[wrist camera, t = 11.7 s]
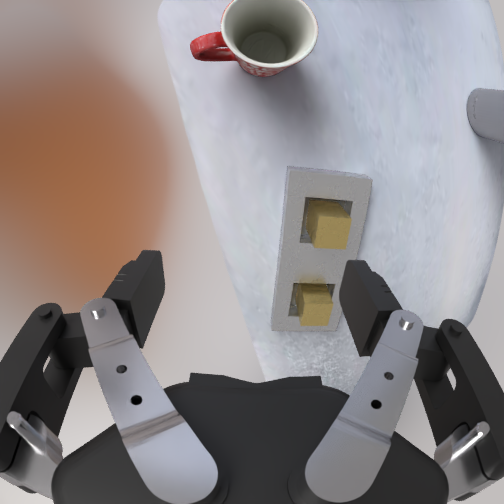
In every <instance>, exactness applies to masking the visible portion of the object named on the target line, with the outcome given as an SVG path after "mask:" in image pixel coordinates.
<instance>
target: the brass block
mask: <svg viewBox="0 0 504 504" xmlns="http://www.w3.org/2000/svg"><path fill="white" fill-rule="evenodd" d="M295 301H296V306H297V311H298V316H299V321H300V326H328V322H329V319H330V315H331V312H332V308H333V301H332V299H331V296H330V293H329V290H328V288H327V285H326V284H319V283H298V286H297V292H296V298H295Z"/></svg>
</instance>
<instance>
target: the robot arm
mask: <svg viewBox="0 0 504 504" xmlns="http://www.w3.org/2000/svg"><path fill="white" fill-rule="evenodd" d="M467 113H468V118H469V122H470V124H471V126H472V128H473V130H474V131H475V132H476V133H477V134H478V135H479V136H481V137H484V138H488V139H491V140H494V141H497V142H501V143H504V91H503V90H494V89H482V88H479V89H475V90H473V91H472V92H471V94H470V96H469V98H468V103H467ZM164 290H165V279H164V271H163V264H162V255H161V252H160V251H155V250H143V251H142V252H141V254H140V255H139V256H138V258H137V259H136V261H130V262H129V263H127V264H126V265H124V266H123V267H122V268H121V270H120V271H119V273H118V275H117V276H116V277H115V279H114V281H113V282H112V283H111V285H110V286H109V288H108V289H107V291H106V292H105V294H104V295H103V297H102V298H97V299H93V300H91V301H89V302H87V303H86V304H85V305H84V306H83V307H82V309H81V312H79V313H71V314H63V312H62V309H61V307H60V306H59V305H58V304H56V303H46V304H43V305H41V306H39V307H38V308H36V309H35V310H34V311H33V312H32V314H31V315H30V317H29V318H28V320H27V321H26V323H25V324H24V326H23V327H22V329H21V330H20V332H19V333H18V334H17V336H16V338H15V339H14V341H13V342H12V344H11V345H10V347H9V349H8V350H7V352H6V354H5V355H4V357H3V359H2V360H1V362H0V477H1V478H3V479H4V480H6V481H8V482H9V483H11V484H13V485H16V486H17V487H19V488H21V489H23V490H24V491H26V492H28V493H39V494H41V495H43V496H45V497H48V498H50V499H52V500H53V501H54V504H447V502H449V501H451V500H458V501H462V500H465V499H467V498H469V497H471V496H473V495H475V494H476V493H478V492H480V491H482V490H483V489H485V488H487V487H488V486H490V485H491V484H493V483H495V482H496V481H498V480H499V479H501V478H502V477H504V393H503V390H502V388H501V387H500V385H499V383H498V381H497V379H496V377H495V375H494V373H493V372H492V370H491V368H490V366H489V364H488V362H487V361H486V359H485V357H484V356H483V354H482V352H481V350H480V349H479V347H478V346H477V344H476V342H475V341H474V339H473V337H472V336H471V334H470V333H469V331H468V330H467V328H466V327H465V326H464V325H463V324H462V323H460V322H458V321H456V320H453V319H446V320H444V321H443V322H442V323H441V325H440V327H439V329H437V328H432V327H426V326H423V322H422V320H421V319H420V318H419V317H418V316H417V315H416V314H414V313H412V312H410V311H407V310H403V309H402V307H401V306H400V304H399V302H398V301H397V299H396V298H395V296H394V294H393V293H391V290H390V288H389V287H388V285H387V284H386V282H385V280H384V279H383V278H382V277H381V276H380V275H378V274H377V273H376V272H372V271H371V269H370V267H369V266H368V264H367V263H366V261H364V260H348V261H347V263H346V266H345V270H344V274H343V278H342V282H341V286H340V290H339V302H340V305H341V307H342V310H343V313H344V315H345V318H346V321H347V323H348V326H349V329H350V331H351V334H352V337H353V339H354V342H355V345H356V348H357V351H358V353H359V356H360V357H361V356H370V357H371V358H370V360H369V362H368V364H367V366H366V368H365V370H364V371H363V373H362V375H361V377H360V379H359V381H358V383H357V384H356V386H355V388H354V390H353V391H352V393H351V395H350V396H349V395H348V394H346V393H344V392H342V391H340V390H338V389H335V388H332V387H328V386H324V385H322V381H321V376H308V377H287V378H282V379H278V380H273V381H268V382H263V383H252V382H247V381H243V380H239V379H235V378H231V377H228V376H224V375H212V374H199V373H191V374H190V380H189V382H184V383H179V384H175V385H172V386H169V387H167V388H164V389H162V387H161V386H160V384H159V382H158V380H157V379H156V377H155V375H154V373H153V372H152V370H151V368H150V366H149V365H148V363H147V361H146V359H145V357H144V356H143V354H142V352H141V350H140V348H143V346H144V343H145V341H146V338H147V336H148V333H149V331H150V328H151V325H152V323H153V320H154V318H155V315H156V313H157V310H158V308H159V305H160V303H161V300H162V298H163V295H164ZM48 356H49V357H50V358H51V359H50V361H49V363H48V365H47V367H46V369H45V371H44V373H43V367H44V364H45V362H46V360H47V358H48ZM84 367H94V369H95V372H96V375H97V378H98V381H99V383H100V386H101V389H102V392H103V394H104V397H105V399H106V402H107V404H108V407H109V409H110V411H111V414H112V416H113V419H114V421H115V424H113V425H112V426H110V427H109V428H108V429H106V430H105V431H103V432H102V433H100V434H99V435H97V436H96V437H95V438H93V439H92V440H90V441H89V442H87V443H86V444H84V445H83V446H81V447H80V448H78V449H77V450H76V451H74V452H72V453H71V454H69V455H68V456H67V457H65V458H64V459H63V456H62V452H63V450H62V444H61V442H60V440H59V438H58V435H59V432H60V429H61V426H62V423H63V420H64V417H65V414H66V411H67V409H68V406H69V403H70V400H71V398H72V395H73V392H74V390H75V387H76V384H77V382H78V379H79V377H80V374H81V372H82V369H83V368H84ZM450 368H451V370H452V372H453V374H454V376H455V378H456V387H455V390H453V388H452V385H451V383H450V381H449V379H448V377H447V372H448V370H449V369H450ZM413 378H414V380H415V382H416V385H417V388H418V391H419V394H420V396H421V399H422V402H423V405H424V407H425V411H426V414H427V417H428V420H429V423H430V426H431V429H432V432H433V436H434V439H435V442H436V446H437V448H436V450H435V454H434V460H433V459H432V458H430V457H429V456H428V455H426V454H425V453H424V452H422V451H421V450H419V449H418V448H417V447H415V446H414V445H413V444H411V443H410V442H409V441H407V440H406V439H405V438H404V437H402V436H401V435H400V434H398V433H397V432H395V431H394V430H395V427H396V425H397V422H398V420H399V417H400V415H401V412H402V409H403V407H404V404H405V401H406V398H407V396H408V393H409V390H410V387H411V384H412V381H413Z"/></svg>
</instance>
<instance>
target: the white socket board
mask: <svg viewBox="0 0 504 504" xmlns="http://www.w3.org/2000/svg"><path fill="white" fill-rule="evenodd" d="M372 181H373V180H372V179H371V178H369V177H368V176H366V175H363V174H356V173H348V172H340V171H332V170H323V169H313V168H302V167H291V166H287V174H286V185H285V196H284V206H283V216H282V226H281V235H280V245H279V254H278V263H277V272H276V281H275V289H274V298H273V306H272V314H271V329H272V331H336V329H337V326H338V323H339V320H340V316H341V313H342V307H341V305H340V302H339V290H340V286H341V282H342V278H343V274H344V270H345V266H346V263H347V261H348V260H356V258H357V254H358V250H359V245H360V241H361V237H362V232H363V228H364V223H365V218H366V213H367V208H368V203H369V198H370V192H371V187H372ZM305 197H314V198H325V199H336V200H346V202H345V208H344V210H345V211H346V212H347V213H348V215H349V216H350V217H351V218H352V221H351V226H350V231H349V236H348V241H347V246H346V250H344V249H325V248H314V246H313V244H312V242H311V239H310V237H309V235H301V228H302V221H303V213H304V205H305ZM293 283H319V284H329V287H328V290H329V293H330V296H331V299H332V301H333V308H332V312H331V315H330V319H329V322H328V326H300V321H299V316H298V311H297V306H290V302H291V296H292V290H293Z"/></svg>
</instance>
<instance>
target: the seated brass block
mask: <svg viewBox="0 0 504 504" xmlns="http://www.w3.org/2000/svg"><path fill="white" fill-rule="evenodd" d="M351 221H352V218H351V217H350V216H349V215H348V213H347V212H346V211H345V210H344V209H343V208H342V206H341V205H340V204H339V203H338V202H333V201H322V200H310V199H309V205H308V212H307V220H306V230H307V232H308V234H309V237H310V239H311V242H312V244H313V246H314V248H325V249H344V250H346V246H347V241H348V236H349V231H350V226H351Z"/></svg>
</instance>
